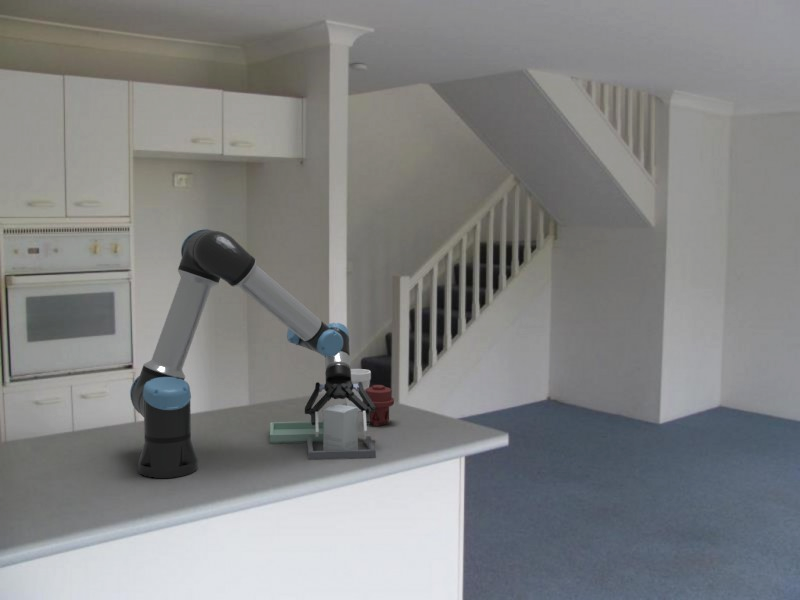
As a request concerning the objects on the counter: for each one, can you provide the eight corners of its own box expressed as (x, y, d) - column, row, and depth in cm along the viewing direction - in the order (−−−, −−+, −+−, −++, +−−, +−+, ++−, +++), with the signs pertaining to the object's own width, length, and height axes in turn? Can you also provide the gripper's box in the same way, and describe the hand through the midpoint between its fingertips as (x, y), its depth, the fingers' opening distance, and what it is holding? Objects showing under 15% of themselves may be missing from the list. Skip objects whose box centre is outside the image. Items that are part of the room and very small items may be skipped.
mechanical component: (396, 421, 269) (390, 429, 259) (366, 418, 271) (359, 426, 261) (397, 383, 267) (390, 390, 257) (367, 381, 269) (359, 388, 259)
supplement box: (358, 450, 236) (359, 407, 235) (343, 456, 230) (343, 412, 229) (337, 445, 240) (338, 403, 239) (322, 452, 234) (322, 408, 233)
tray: (269, 443, 241) (269, 435, 241) (270, 430, 255) (270, 422, 255) (338, 441, 244) (338, 433, 244) (335, 429, 258) (335, 420, 257)
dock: (308, 459, 227) (308, 452, 227) (307, 444, 241) (307, 437, 241) (375, 457, 230) (375, 450, 229) (369, 442, 244) (370, 436, 244)
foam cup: (340, 411, 280) (340, 373, 278) (346, 404, 289) (346, 368, 287) (367, 412, 278) (368, 374, 277) (373, 406, 287) (373, 369, 286)
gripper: (378, 376, 250) (384, 439, 237) (295, 377, 246) (296, 441, 233) (380, 362, 244) (386, 426, 231) (295, 363, 241) (296, 428, 228)
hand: (341, 433), depth 232 cm, fingers open, 13 cm apart
